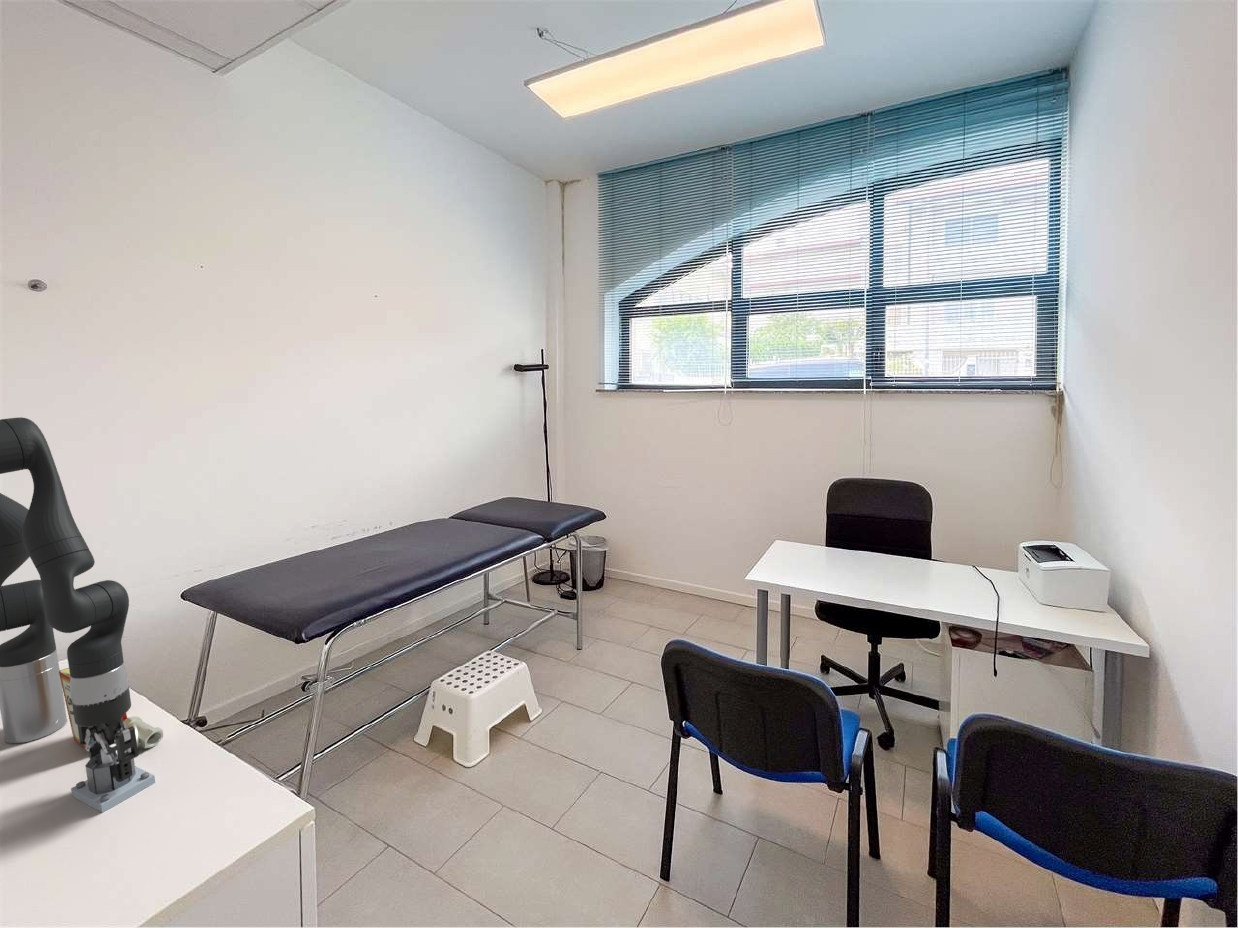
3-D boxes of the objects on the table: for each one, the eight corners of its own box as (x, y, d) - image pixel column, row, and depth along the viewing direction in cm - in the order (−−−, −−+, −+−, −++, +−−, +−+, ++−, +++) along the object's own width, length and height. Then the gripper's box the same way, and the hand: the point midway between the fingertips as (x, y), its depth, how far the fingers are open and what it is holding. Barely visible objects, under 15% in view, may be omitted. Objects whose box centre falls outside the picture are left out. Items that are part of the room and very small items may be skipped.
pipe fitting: (126, 763, 108) (163, 740, 114) (124, 748, 107) (162, 725, 113) (100, 748, 110) (137, 727, 116) (98, 733, 109) (136, 712, 115)
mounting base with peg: (71, 795, 99) (65, 753, 98) (125, 767, 106) (119, 728, 105) (102, 812, 95) (96, 769, 94) (155, 782, 103) (150, 741, 101)
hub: (83, 787, 99) (79, 763, 98) (123, 766, 105) (120, 743, 104) (101, 797, 97) (98, 772, 96) (141, 775, 102) (138, 751, 102)
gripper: (52, 692, 97) (64, 774, 100) (96, 712, 92) (108, 798, 94) (104, 672, 104) (115, 749, 106) (148, 689, 99) (158, 770, 101)
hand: (112, 772), depth 100 cm, fingers open, 7 cm apart
